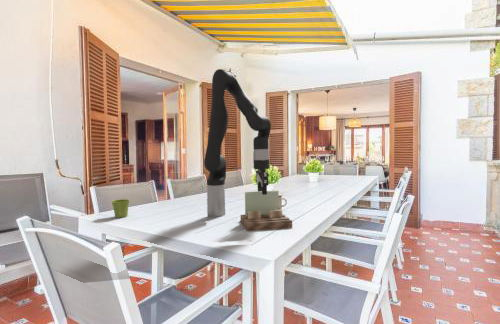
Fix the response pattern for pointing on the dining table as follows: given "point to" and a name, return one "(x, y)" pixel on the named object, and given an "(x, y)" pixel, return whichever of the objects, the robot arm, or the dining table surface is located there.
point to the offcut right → (275, 213)
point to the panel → (261, 202)
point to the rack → (266, 223)
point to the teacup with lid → (281, 201)
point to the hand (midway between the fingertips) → (262, 193)
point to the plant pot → (120, 207)
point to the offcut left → (254, 214)
